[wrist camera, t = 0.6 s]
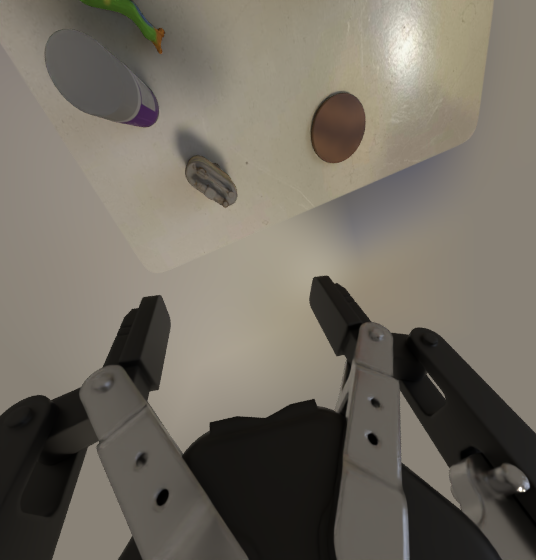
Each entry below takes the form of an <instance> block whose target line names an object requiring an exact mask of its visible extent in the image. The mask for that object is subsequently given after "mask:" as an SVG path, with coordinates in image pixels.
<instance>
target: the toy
mask: <svg viewBox="0 0 536 560" xmlns="http://www.w3.org/2000/svg"><path fill="white" fill-rule="evenodd" d="M80 1H81V2H82V3H84V4H86V5H88V6H91V7H96V8H101V9H106V10H111V11H115V12H119V13H121V14H123V15H125V16H127V17H128V18H130V19H131V20H132V21H133V22H134V23H135V24H136V25H137V26H138V27H139V29H140V30H141V32H142V33H143V35H144V37H145V38H147V39H148V40H150V41H151V42H152V43H153V44H154V45H155V47H156V48H157V51H158V52H159V54H162V49H161V41H162V37H164V34H165V32H164V30H163V29H162V28H159V29H158V30H157V29H156V28H155V27H154V26H152V25H151V24H150V23H149V22H148V21H147V20H146V18H145V17H144V15H143V14H142V13H141V11H140V10H139V8H138V7H137V6H136V4H135V3H133V2H132V1H131V0H80Z"/></svg>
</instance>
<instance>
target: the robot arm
mask: <svg viewBox="0 0 536 560" xmlns="http://www.w3.org/2000/svg"><path fill="white" fill-rule="evenodd" d="M309 301H310V306H311V308H312V310H313V312H314V314H315V316H316V318H317V320H318V322H319V324H320V326H321V328H322V329H323V331H324V333H325V335H326V337H327V339H328V341H329V343H330V345H331V347H332V348H333V350H334V352H335V354H336V356H340V355H345V357H346V358H347V360H346V363H345V368H344V373H343V378H342V383H341V388H340V393H339V398H338V401H337V404H336V407H335V411H334V410H331V409H328V408H325V407H319V406H317V405H316V402H315V399H312V400H307V401H303V402H298V403H294V404H290V405H289V406H286V407H285V408H283V409H281V410H280V411H278V412H276V413H274V414H272V415H270V416H269V417H267V418H255V417H240V416H236V417H232V418H228V419H223V420H219V421H214V422H210V431H208V432H207V433H205V434H203V435H202V436H201V437H199V438H198V439H197V440H196V441H195V442H193V443H192V444H191V445H190V447H189V448H188V449H187V450H186V451H185V452H184V454H183V453H182V451H181V450H180V448H179V447H178V446H177V444H176V443H175V441H174V440H173V438H172V437H171V436H170V434H169V433H168V431H167V430H166V428H165V427H164V425H163V424H162V422H161V421H160V419H159V418H158V416H157V415H156V413H155V412H154V411H153V409H152V407H151V406H150V404H149V403H148V401H147V400H148V396H149V391H154V390H158V389H159V385H160V380H161V375H162V369H163V364H164V359H165V354H166V348H167V343H168V338H169V333H170V327H171V323H170V317H169V314H168V311H167V309H166V306H165V303H164V301H163V298H162V296H161V295H156V296H148V297H143V298H142V301H141V304H140V306H139V308H136V309H132V310H131V311H130V312H129V313H128V314H127V315H126V316H125V317H124V319H123V322H122V324H121V326H120V329H119V331H118V333H117V336H116V338H115V340H114V343H113V345H112V347H111V350H110V352H109V354H108V356H107V359H106V361H105V363H104V365H103V367H102V368H101V369H99V370H97V371H96V372H94V373H93V374H91V375H90V376H89V377H88V378H87V379H86V380H85V382H84V383H83V385H82V387H80V388H78V389H76V390H74V391H71V392H69V393H67V394H64V395H62V396H60V397H58V398H55V399H53V400H50V399H49V398H47V397H46V396H42V395H37V396H31V397H28V398H26V399H23V400H21V401H19V402H18V403H16V404H15V405H13V406H11V407H10V408H9V409H8V410H6V411H5V412H4V413H3V414H2V415H1V416H0V560H52V558H53V554H54V551H55V548H56V545H57V542H58V539H59V536H60V533H61V529H62V526H63V523H64V520H65V517H66V514H67V511H68V507H69V504H70V501H71V498H72V495H73V492H74V488H75V485H76V482H77V479H78V476H79V473H80V470H81V467H82V464H83V461H84V457H85V454H86V451H87V448H88V446H90V445H92V444H94V443H96V442H97V441H99V444H98V445H97V452H98V455H99V458H100V459H101V462H102V465H103V467H104V470H105V472H106V474H107V477H108V479H109V481H110V483H111V486H112V488H113V491H114V493H115V495H116V498H117V500H118V503H119V505H120V507H121V510H122V512H123V514H124V517H125V519H126V521H127V524H128V526H129V528H130V531H131V533H132V538H131V539H130V541H129V542H128V544H127V546H126V548H125V549H124V551H123V552H122V554H121V556H120V557H119V559H118V560H536V433H535V432H534V431H533V430H532V429H531V428H530V427H529V426H528V425H527V424H526V423H525V422H524V421H523V420H522V419H521V418H520V417H519V416H518V415H517V414H516V413H515V412H514V411H513V410H512V409H511V408H510V407H509V406H508V405H507V404H506V403H505V402H504V401H503V400H502V399H501V398H500V397H499V395H498V394H497V393H496V392H495V391H494V390H493V389H492V388H491V387H490V386H489V385H488V384H487V383H486V382H485V381H484V380H483V379H482V378H481V377H480V376H479V375H478V374H477V373H476V372H475V371H474V370H473V369H472V368H471V367H470V366H469V365H468V364H467V363H466V362H465V361H464V360H463V359H462V358H461V356H459V354H458V353H457V352H456V351H455V350H454V349H453V348H452V347H451V346H450V345H449V344H448V343H447V342H446V341H445V340H444V339H443V338H442V337H441V336H440V335H438V334H437V333H435V332H433V331H431V330H429V329H426V328H415V329H413V330H412V331H411V333H410V334H409V335H406V334H397V333H390V331H389V330H388V329H386V328H385V327H384V326H382V325H380V324H378V323H374V322H371V321H370V320H369V318H368V317H367V316H366V314H365V313H364V312H363V311H362V309H361V308H360V307H359V305H358V304H357V303H356V302H355V301H354V299H353V298H352V297H351V296H350V294H349V293H348V291H347V290H346V289H345V288H344V287H342V286H341V285H339V284H338V283H336V284H334V283H333V282H332V280H331V279H330V278H329V276H319V277H314V278H313V281H312V286H311V292H310V298H309ZM427 373H429V375H430V376H431V377H432V379H433V380H434V381H435V382H436V384H437V385H438V386H439V388H440V389H441V390H442V392H443V393H444V395H445V398H446V400H445V398H444V397H443V396H442V394H441V393H440V392H439V391H438V389H437V388H436V387H435V385H434V384H433V383H432V382H431V380H430V379H429V378H428V376H427V375H426V374H427ZM400 391H401V392H402V394H403V395H404V397H405V399H406V400H407V402H408V403H409V405H410V407H411V408H412V410H413V411H414V413H415V414H416V416H417V418H418V419H419V421H420V422H421V424H422V426H423V427H424V429H425V430H426V432H427V433H428V435H429V436H430V438H431V440H432V441H433V443H434V444H435V446H436V448H437V449H438V451H439V452H440V454H441V456H442V457H443V459H444V460H445V462H446V463H447V465H448V466H449V468H450V470H449V478H450V482H451V492H452V495H453V497H454V498H455V499H456V501H457V502H458V503H460V506H461V510H460V509H459V508H457V507H456V506H455V505H454V504H452V503H451V502H450V501H449V500H448V499H446V498H445V497H444V496H442V495H441V494H440V493H439V492H438V491H436V490H435V489H434V488H433V487H431V486H430V485H429V484H428V483H426V482H425V481H424V480H423V479H421V478H420V477H419V476H418V475H416V474H415V473H414V472H413V471H411V470H410V469H409V468H408V467H407V466H405V465H404V464H403V463H402V462H401V431H400Z"/></svg>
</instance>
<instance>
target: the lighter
mask: <svg viewBox="0 0 536 560" xmlns="http://www.w3.org/2000/svg"><path fill="white" fill-rule="evenodd" d="M185 175H186V178H187V180H188V182H189V183H190V184H191V185H192V186H193V187H194V188H196V189H197V190H199V191H200V192H202V193H203V194H204V195H205V196H206V197H207V198H209V199H211V200H214V201H215V202H217V203H219V204H220V205H223V207H228V206H230V205H232V204H233V203H235V201H236V199H237V189H236V186H235V184H234V183H233V182H232V180H231V178H230V177H229V175H227V174H226V173H225V172H223V171H222V170H221V169H220V166H219V165H218V164H216V163H211V162H210V161H209V160H208V159H206V158H205V157H203V156H200V155H196V156H193V157H192V158H191V159H190V160H189V162H188V164H187V166H186V170H185Z"/></svg>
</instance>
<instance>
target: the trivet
mask: <svg viewBox="0 0 536 560" xmlns="http://www.w3.org/2000/svg"><path fill="white" fill-rule="evenodd" d="M364 130H365V113H364V109H363V106H362V104H361V103H360V101H359V100H358V99H357V98H356V97H355V96H353V95H351V94H348V93H340V94H337V95H334V96H332V97H330V98H328V99H327V100H326V101H325V102H324V103H323V104H322V105H321V106H320V108H319V109H318V111H317V113H316V115H315V117H314V120H313V123H312V128H311V140H312V145H313V148H314V151H315V152H316V154H317V155H318V156H319V157H320V158H321V159H322V160H324V161H326V162H330V163H338V162H342V161H344V160H346V159H347V158H349V157H350V156H351V155H352V154H353V153H354V152H355V151H356V149H357V148H358V146H359V145H360V142H361V140H362V138H363V135H364Z"/></svg>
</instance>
